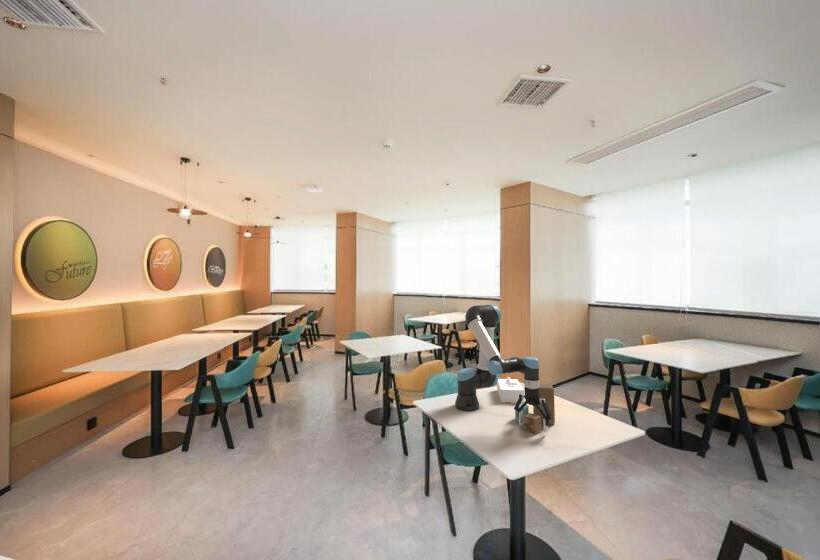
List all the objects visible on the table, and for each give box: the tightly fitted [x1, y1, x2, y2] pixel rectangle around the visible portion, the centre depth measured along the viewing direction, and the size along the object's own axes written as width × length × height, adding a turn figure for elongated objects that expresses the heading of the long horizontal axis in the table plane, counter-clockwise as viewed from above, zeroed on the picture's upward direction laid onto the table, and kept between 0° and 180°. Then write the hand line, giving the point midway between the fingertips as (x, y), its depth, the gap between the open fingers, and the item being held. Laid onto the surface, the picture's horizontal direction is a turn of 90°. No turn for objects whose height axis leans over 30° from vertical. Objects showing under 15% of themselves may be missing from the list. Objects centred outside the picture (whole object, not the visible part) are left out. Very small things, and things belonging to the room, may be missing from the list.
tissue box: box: [496, 376, 525, 404], centre depth 229 cm, size 14×25×11 cm, turn 171°
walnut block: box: [524, 412, 542, 436], centre depth 174 cm, size 6×6×8 cm
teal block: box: [514, 403, 530, 424], centre depth 188 cm, size 6×6×8 cm
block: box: [532, 382, 556, 425], centre depth 187 cm, size 10×10×20 cm
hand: (533, 427), depth 174 cm, fingers open, 13 cm apart
